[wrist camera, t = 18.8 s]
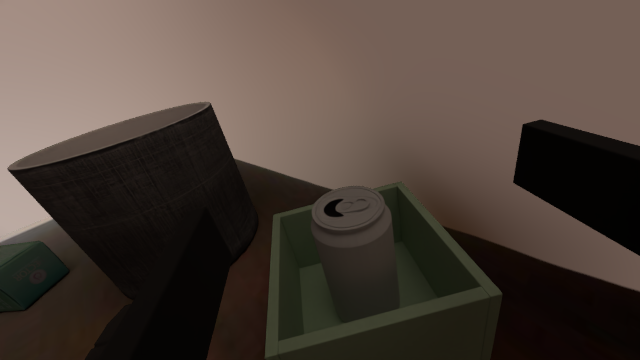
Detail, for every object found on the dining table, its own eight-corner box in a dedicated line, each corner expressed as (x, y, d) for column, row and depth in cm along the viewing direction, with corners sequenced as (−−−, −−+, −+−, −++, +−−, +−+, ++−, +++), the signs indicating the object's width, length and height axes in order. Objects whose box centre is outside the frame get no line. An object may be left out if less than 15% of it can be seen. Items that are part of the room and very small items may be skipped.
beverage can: (336, 278, 28) (310, 188, 23) (394, 273, 27) (383, 177, 22) (334, 336, 23) (300, 237, 17) (407, 333, 22) (397, 226, 16)
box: (26, 311, 36) (-18, 276, 33) (-41, 317, 39) (-88, 284, 35) (73, 270, 43) (41, 237, 39) (13, 277, 45) (-22, 247, 42)
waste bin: (406, 241, 32) (401, 181, 28) (488, 369, 19) (503, 293, 15) (294, 271, 32) (273, 214, 28) (303, 420, 19) (264, 357, 15)
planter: (96, 276, 40) (-10, 164, 31) (207, 197, 56) (160, 108, 46) (170, 330, 28) (36, 177, 19) (284, 211, 44) (243, 95, 34)
